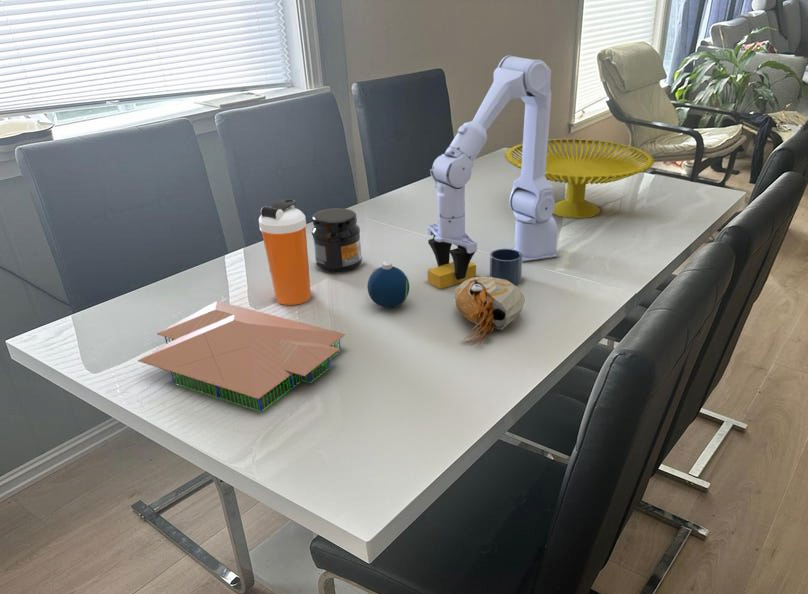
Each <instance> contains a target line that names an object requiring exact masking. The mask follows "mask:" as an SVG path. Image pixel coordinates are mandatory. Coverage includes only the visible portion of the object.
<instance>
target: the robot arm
mask: <svg viewBox="0 0 808 594" xmlns="http://www.w3.org/2000/svg"><path fill="white" fill-rule="evenodd" d="M551 77H552V70H551V68H550V67H549V66H548V65H547V64H546V62H544V61H543V60H542V59H533V58H525V57H520V56H515V55H511V54H509V55H506V56H503V58H501V60H500V61H499V63H498V65H497V67H496V68H495V69H494V71H493V82H492V84H491V86H490V87H489V89H488V91H487V93H486V95H485V97H484V98H483V100H482V103H481V104H480V106H479V107H478V110H477V111H476V113H475V115H474V117H473V119H472V120H470V121H468V122H464V123H463V124H462V125H460V126H459V127H458V130H457V133H456V135H455V136H454V138H453V140H452V141H451V143H450V144H449V146H448V147H446V150H445V152H444V153H442V154H441V155H438V156H437V157H436V158H435V159H434V161H433V163H432V165H431V166H432V167H431V168H430V169H429V171H430V173H429V174H430V176H431V178H432V179H433V180H434V183H435V189H436V200H437V201H436V203H437V204H436V205H437V206H436V207H437V224H436V223H433V224H429V225H427V234H428V235H429V236H433V237H432V238H430V239H428V240H427V244H428V246H429V247H430V248H431V250H432V252H433V254H434V257H435V260H436V263H437V267H438V266H442V265H445V264H448V263H450V257H451V258H452V262H454V267H455V276H456V279H457V280H460V279H463V278H465V276H466V272H467V269H468V265H469V263H470V262H471V260H472V259H473V257H474V255H475V253H476V252H478V243H477V242H476V241H474V240H473V239H472V238H471V237H470V236H469V235H468V234H467V233H466V184H467V183H468V182H469V181H470V179H471V177H472V170H473V169H472V168H473V167H474V161H475V160H476V158H477V157H478V155H479V154H480V152H481V151H482V149H483V147H484V146H485V144H486V143H487V141H488V135H487V131H488V129H490V127H491V125H492V124H493V123H494V121H495V120H496V118H497V117H498V116H499V114H500V113H501V112H502V110H503V109H504V108H505V106H506V105H507V104H508V103H509V101H512V100H517V99H521V100H522V102H523V103H524V118H523V119H524V120H523V133H522V143H523V145H522V146H523V149H522V148H521V150H522V152H521V154H522V156H521V157H522V166H521V169H520V176H519V177H518V178H517V179H516V180H514V181H513V183H512V190H511V193H510V195H509V199H508V204H509V208H510V210H511V211H512V212H513V217H514V218H515V225H514V227H515V229H514V247H513V246H512V247H508V249H513V250H517V251H519V252H521V253H522V263H523V262H529V261H530V262H531V261H537V260H544V259H552V258H557V257H558V254H557V243H558V242H557V239H558V226H557V221H556V219H555V218H554V217H553V214H554V213H553V212H554V209H555V203H556V201H555V198H554V187H553V186H552V184H551V183H550V181H549V180H547V179H546V177H545V172H546V159H547V151H548V148H547V146H548V143H549V140H548V139H549V131H550V120H551V119H550V118H551V109H552V108H551V106H552V89H551V81H552V80H551V79H552V78H551ZM452 245H454V246H457V247H456V248H453V249H452ZM450 255H451V256H450Z"/></svg>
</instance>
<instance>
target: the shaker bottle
mask: <svg viewBox="0 0 808 594" xmlns="http://www.w3.org/2000/svg"><path fill="white" fill-rule="evenodd" d="M295 204H297V200H296V199H291V198H287V199H281V200H278V201H276V202H274V203H273V204H271V205H270V206H267V205H265V206H262V207H261V209H260V216H259V218H258V225H259V230H260V232H261V234H262V239H263V244H264V250H265V253H266V258H267V263H268V267H269V272H270V277H271V281H272V286H273V290H274V296H275V300H276V302H277V303H278V304H281V305H284V306H297V305H301V304H304V303H306V302H308V301H309V300H310V299H311V298H312V289H311V279H310V265H309V253H308V242H307V241H308V240H307V230H306V229H307V220H306V219H307V218H306V215H305V214H304V212H303V211H301V210H300V209H299V208H296V207H295Z"/></svg>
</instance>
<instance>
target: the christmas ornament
mask: <svg viewBox="0 0 808 594" xmlns="http://www.w3.org/2000/svg"><path fill="white" fill-rule="evenodd" d="M366 287H367V289H366V290H367V294H368V296H369V298H370V300H372V302H373V303H375V304H376V305H377V306H379V307H382V308H385V309H387V308H388V309H392V308H396V307H398V306H400V305H402V304H403V303H404V302H405V301H406V300H407V298H408V296H409V293H410V281H409V278H408V276H407V275H406V274H405V273H404V271H403V270H401V269H400V268H399V267H396V266H393V263H392V262H391V261H388V260H386V261H383V262H382V263H381V266H380V267H378V268H376V269H375V270H374V271H372V273H371V274H370V276H369V278H368V280H367V286H366Z"/></svg>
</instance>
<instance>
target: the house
mask: <svg viewBox="0 0 808 594" xmlns="http://www.w3.org/2000/svg"><path fill="white" fill-rule="evenodd" d="M156 335H157V336H161V337H163V338H164V341H165V343H166V344H164V345H163V346H160V347H159V348H156V349H155V350H153V351H151V352H150V353H148V354H146V355H144V356H143V357H141V358H139V359H137V362H139V363H142V364H145V365H149V366H152V367H154V368H158V369H162V370H165V371H168V372H170V376H171V380H172V384H173V385H177V386H180V387H183V388H186V389H189V390H191V391H192V390H193V391H195V392H199V393H202V394H204V395H207V396H211V397H213V398H218V399H220V400H223V401H226V402H229V403H232V404H236V405H238V406H241V407H244V408H248V409H251V410H254V411H257V412H260V413H262V412H263V411H265V410H266V409H267V408H269V407H270V406H271V405H273V404H274V403H276V401H277V400H279V399H280V398H281V397H283V396H284V395H286V393H288V392H289V391H290V390H292V389H293V388H294V387H296V386H297V385H298V384H300V383H301V382H302V381H303V382H306V383H310V384H311V383H313V381H315V380H316V379H318V378H319V377H320V376H322V375H323V374H324V373H325V372H327V371H328V370H329V369H331V361H330V360H332V358H334V357H335V356H336V355H338V354H340V352H341V351H342V350H341V349H342V348H341V340H340V339H342V338H343V337H345V336H346V333H343V332H339V331H336V330H332V329H328V328H323V327H320V326H316V325H312V324H308V323H304V322H301V321H297V320H294V319H289V318H284V317H281V316H277V315H273V314H269V313H265V312H262V311H261V312H260V311H258V310H254V309H250V308H246V307H242V306H238V305H234V304H231V303H226V302H223V301H219V300H216V301H214V302H212V303H210V304H209V305H207V306H205V307H203V308H201V309H199V310H197V311H196V312H194V313H192V314H191V315H189V316H186V317H184V318H183V319H181V320H179V321H178V322H175V323H174V324H172V325H169V326H168V327H166V328H164V329H163V330H160V331H159V332H157V333H156ZM320 367H321V373H320ZM323 368H324V370H323ZM317 369H318V370H317ZM317 371H318V373H317ZM314 372H315V377H314ZM293 374H294V375H293ZM311 374H312V378H311ZM317 374H318V375H317ZM307 375H308V379H309V381H308V380H307ZM297 376H298V379H297ZM303 377H305V379H303ZM294 378H295V383H296V384H295V383H294ZM191 379H192V380H191ZM181 380H182V381H181ZM195 380H196V381H195ZM298 380H299V381H298ZM185 381H186V382H185ZM188 381H189V382H188ZM198 381H199V382H198ZM178 382H179V383H180V384H179V383H178ZM192 382H193V386H194V388H193V386H192ZM182 383H183V385H182ZM185 383H186V384H185ZM189 383H190V386H189ZM196 384H197V387H196ZM206 384H207V385H206ZM281 384H282V385H281ZM186 385H187V386H186ZM199 385H200V386H199ZM285 385H286V388H285ZM203 386H204V388H203ZM278 386H279V387H278ZM200 387H201V390H202V391H201V390H200ZM207 387H208V390H209V393H208V391H207ZM282 387H283V391H282ZM197 388H198V390H197ZM274 388H275V389H274ZM204 389H205V392H204ZM223 389H224V390H223ZM286 389H287V391H286ZM211 390H212V393H211ZM278 390H279V391H280V396H279V391H278ZM271 391H272V392H271ZM220 392H221V394H220ZM223 392H224V393H223ZM275 392H276V394H277V398H276V396H275ZM282 392H283V393H282ZM235 393H236V394H235ZM268 393H269V394H268ZM238 394H240V395H238ZM228 395H229V399H230V400H228ZM231 395H232V396H233V401H232V397H231ZM242 395H243V396H242ZM272 395H273V399H274V401H273V400H272ZM235 396H236V398H237V402H236V399H235ZM246 396H247V397H246ZM264 396H265V397H264ZM224 397H225V398H224ZM239 397H240V399H239ZM250 398H251V399H250ZM261 398H262V400H261ZM268 398H270V404H269V399H268ZM243 399H244V401H245V405H244V402H243ZM240 400H241V403H240ZM247 400H248V403H249V406H248V403H247ZM265 400H266V403H267V406H266V404H265ZM251 401H252V404H253V407H252V405H251ZM262 402H263V407H264V408H263V409H262V404H261V403H262ZM255 404H256V406H255ZM258 407H259V408H258Z"/></svg>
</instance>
